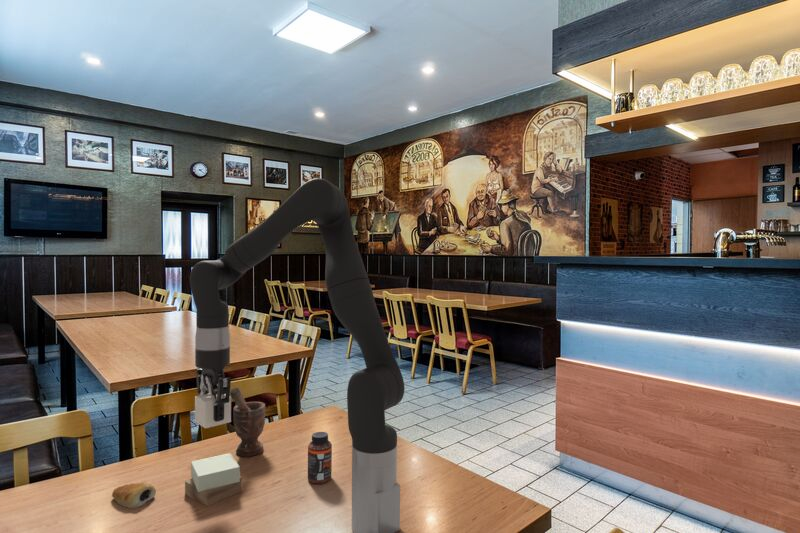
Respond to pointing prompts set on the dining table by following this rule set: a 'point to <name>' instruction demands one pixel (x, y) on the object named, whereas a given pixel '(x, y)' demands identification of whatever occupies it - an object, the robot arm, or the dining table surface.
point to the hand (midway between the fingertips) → (212, 416)
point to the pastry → (134, 494)
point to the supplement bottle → (319, 458)
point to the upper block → (215, 472)
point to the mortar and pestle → (248, 423)
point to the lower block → (211, 492)
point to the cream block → (209, 411)
